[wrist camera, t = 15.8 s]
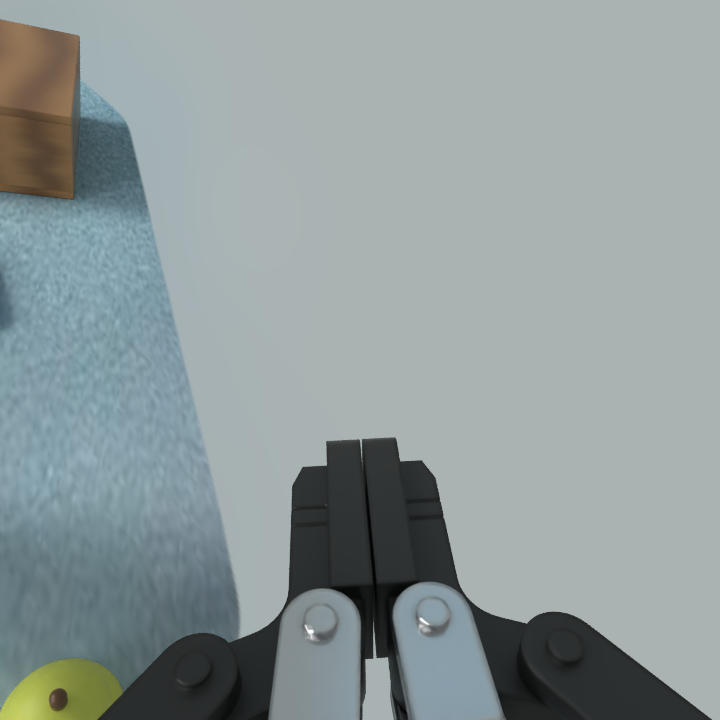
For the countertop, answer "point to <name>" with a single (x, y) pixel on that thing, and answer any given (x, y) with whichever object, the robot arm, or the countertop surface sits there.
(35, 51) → the cabinet
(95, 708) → the pear
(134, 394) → the countertop surface
